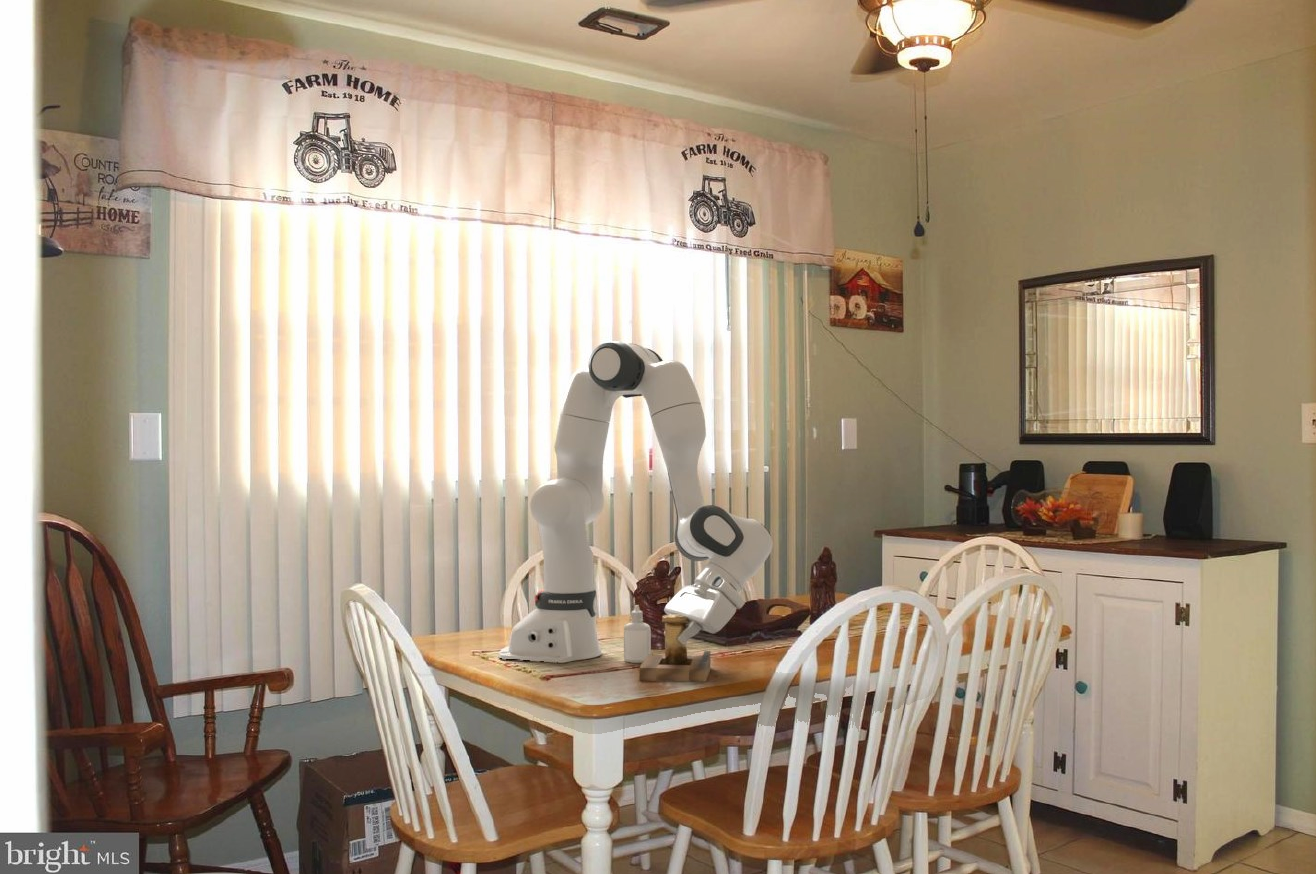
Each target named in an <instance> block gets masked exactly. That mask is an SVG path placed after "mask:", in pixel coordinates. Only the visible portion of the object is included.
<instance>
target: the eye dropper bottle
mask: <svg viewBox="0 0 1316 874" xmlns="http://www.w3.org/2000/svg"><path fill="white" fill-rule="evenodd" d="M630 613H631V622H628V623H627V624H625V625H624V626H623V661H624V662H625V663H629V662H630V663H631V664H642V663H643V662H644V660H645V659H646V657H647V656H648V655H652V651H651V649H652V646H651V645H652V644H651V643H652V642H651V641H652V640H651V637H652V635H651V626H650V625H649V624H648V623H646V622H643V621H644V617H643V613H644V612H643V610H641V609H640V605H639V604H636V605H635V606H634V609H633V610H632V611H631V612H630Z"/></svg>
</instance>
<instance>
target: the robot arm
mask: <svg viewBox="0 0 1316 874" xmlns="http://www.w3.org/2000/svg"><path fill="white" fill-rule="evenodd" d="M588 359H589V360H588V365H587V366H588V367H583V368H581V369H578V370H576V371H575V372H574V373H573V374H572V376H571V379H570V380H569V384H568V386H567V389H566V392H565V394H564V399H563V401H562V406H561V408H560V409H561V410H560V414H559V415H560V416H559V421H558V425H557V429H556V430H557V431H556V436H555V441H554V452H555V455H556V478H555V479H551V480H548V481H547V482H545V483H543V484H542V485H540V486H539V487H538V488H537V489H536V490H535V491H534V492H533V494H532V496H531V499H530V502H529V505H530V506H529V507H530V508H529V509H530V513H531V515H532V517H533V519H534V520H535V522H536V526H537V529H538V535H539V539H540V544H541V550H542V555H543V589H541V590H539V591H537V594H535V596H534V603H535V608H534V609H533V610H531V611H530V612H529V613H528V614H526V615H525V616H524V617H523V618H522V619H521V620H519V621H518V622H517V623H516V624H515V625H514V626H513V628H512V629H511V632H510V634H509V635H510V637H509V642H508V643H509V644H508V645H507V646H505V647H503V648H501V649H500V651H499V652H498V658H499V659H500V658H502V659H501V660H506V659H520V660H519V661H523V660H530V661H529V662H540V661H544V662H543V663H557V662H558V664H559V663H560V664H563V663H568V662H572V661H580V660H587V659H592V658H597V657H599V656H601V655H602V654H603V653H602V649H601V646H600V641H599V637H598V635H599V634H598V629H597V622H596V615H597V608H598V606H597V604H598V603H597V601H598V600H597V591H596V589H595V560H594V559H595V556H594V553H593V550H592V549H591V545H590V542H589V537H588V532H587V525H588V524H591V523H592V522H594V521H595V519H597V518H598V517H599V515H601V513H602V512H603V509H604V505H605V498H604V497H605V496H604V493H603V484H604V483H603V481H604V480H603V479H604V478H603V475H604V474H603V471H604V457H605V456H604V454H605V449H606V445H607V438H608V434H609V427H610V423H611V416H612V412H613V408H614V404H615V402H616V401H617V400H618V399H619V398H620V397H623V398H625V399H626V398H627V399H628V398H634V397H643V398H644V400H645V402H646V404H647V408H648V411H649V416H650V418H651V422H652V426H653V430H654V432H655V436H656V439H657V442H658V445H659V448H660V451H661V454H662V457H663V460H664V464H665V467H666V470H667V476H668V482H669V485H670V490H671V494H672V498H673V503H674V508H675V514H676V523H675V528H674V543H675V546H676V548H677V549H678V552H680V554H681V555H682V556H684V557H685V558H686V559H688V560H690V561H694V562H703V561H707V560H709V562H708V563H707V564H706V565H705V567H704V568H703V569H702V570H701V571H700V573H699V574H698V575H697V576H696V577H695V579H694V583H693V584H692V585H689V584H688V585H684V587H682V588H681V589H680V590H679V591H677V593H675V595H674V596H673V597H672V598H670V600H669V601H668V602H667V603H666V605H665V607H664V609H663V611H664V613H665V615H670V614H679V615H682V616H685V617H688V620H689V622H687V628H686V629H685V630H684V631H683V632H680V633H679V634H678V635H677V636H676V640H677V641H678V642H679V643H681V644H685V643H686V642H687V643H688V641H689V640H690V639H691V638H693V637H694V636H695V635H697V634H699V633H700V631H704V632H707V633H710V634H717V633H718V632H719V631H721V630H722V629H723V628H724V627H725V626H726V625H727V624H728V622H729V621H730V620H731V619H732V617H734V615H735V613H736V612H737V610H740V609H742V607H744V605H745V603H746V601H745V599H744V598H743V597H742V595H741V594H740V593H741V592H742V591H743V590H744V588H745V584H746V583H747V582H748V581H749V580H750V579H751V578H752V577H754V576H755V575H756V574H757V573H758V571H759V570H760V569H761V567H762V566H763V565H764V564H765V561H766V560H767V559H768V557H769V555H770V554H771V553H772V549H773V546H774V544H773V538H772V536H771V533H770V532H769V530H768V529H767V528H766V526H765V525H763V523H761V522H760V521H759V520H757V519H754V518H744V517H741V516H737V515H734V514H732V513H731V512H729V511H726V509H724V508H722V507H720V506H717V505H713V504H712V505H710V504H709V505H708V504H707V505H705V502H704V497H703V492H702V488H701V484H700V478H699V473H698V471H699V470H698V466H699V465H698V463H699V458H700V455H701V451H702V448H703V445H704V442H705V439H706V438H707V437H706V436H707V432H706V431H707V428H706V420H705V414H704V411H703V406H702V403H701V399H700V397H699V393H698V391H697V388H696V386H695V382H694V380H693V378H692V377H691V374H690V372H689V370H688V368H687V367H686V365H685V364H684V363H682V362H680V361H677V360H669V359H668V360H663V358H662V357H661V355H659V354H658V353H657V352H656V351H654V350H652V349H650V348H646V347H644V346H642V345H639V344H637V343H631V342H629V343H628V342H623V341H619V340H612V341H606V342H603V343H601V344H599V345H598V346H596V348H594V350H593V351H592V353H591V354H590V356H589V358H588ZM663 635H664V637H665V631H664V632H663Z"/></svg>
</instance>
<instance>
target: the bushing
mask: <svg viewBox="0 0 1316 874" xmlns="http://www.w3.org/2000/svg"><path fill="white" fill-rule="evenodd" d="M661 617H662V621H661V622H662V623H664V632H665V636H664V655H665V665H687V656H688V641H687V642H686V643H685V644H681V643H679V642H678V641H677V640H676V636H677V635H678V634H679V633H680V632H683V631H684V630H685V629H686V628H687V627H688V625H687V622H689V620H688V617H685V616H682V615H679V614H670V615H667V614H664V615H662V616H661Z"/></svg>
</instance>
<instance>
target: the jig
mask: <svg viewBox="0 0 1316 874" xmlns="http://www.w3.org/2000/svg"><path fill="white" fill-rule="evenodd" d="M638 670H639V677H638V678H639V681H641V682H642V681H643V682H644V681H646V682H685V683H686V682H687V683H689V682H692V683H693V682H695V683H696V682H698V683H706V682H707V680H708V677H709V674H710V671H711V651H710V650H704V651H703V654H702V655H687V665H665V654H663V655H662V654H661V655H660V654H651V655H648V656H647V657H646V659H645V660H644V662H643V663H641V665H640V666H639V669H638Z"/></svg>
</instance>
